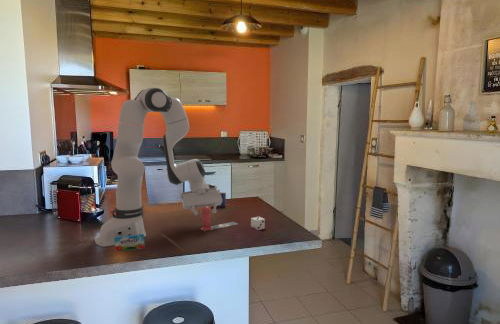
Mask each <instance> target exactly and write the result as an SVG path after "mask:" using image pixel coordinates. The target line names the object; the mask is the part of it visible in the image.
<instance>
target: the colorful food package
mask: <svg viewBox="0 0 500 324" xmlns="http://www.w3.org/2000/svg"><path fill="white" fill-rule="evenodd" d="M114 243H115V245H114V252H115V253H117V252H127V251H136V250H144V249H145V246H146V243H145V237H144V234H138V235H128V236H118V237H115V238H114Z"/></svg>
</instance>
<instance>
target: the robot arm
mask: <svg viewBox="0 0 500 324" xmlns="http://www.w3.org/2000/svg"><path fill="white" fill-rule="evenodd" d="M120 108H121V109H120V114H119V118H118V125H117V126H118V127H117V135H116V143H115V147H114V151H113V155H112V158H111V162H110V165H111V169H112V172H114V173H115V174H116V175H117V185H116V190H115V202H116V204H115V205H116V207H115V208H114V209H113V208H110V209H109V213H110V214H111V215H112V216H111V218H109V219H108V220H107V221H106V222H105V223H103V225H101V226H100V231H99V235H96V236H95V237H94V243H95V244H96V245H97V246H99V247H103V248H105V247H112V246H115V243H114V238H115V237H118V236H128V235H138V234H144V238H145V237H147V233H146V230H145V226H144V225H145V224H144V220H143V218H144V209H143V205H142V185H143V179H144V178H143V177H144V174H145V171H146V168H145V165H144V162H143V161H142V159H140V158H139V157H138V155H139V152H140V149H141V146H142V144H143V140H144V132H145V119H146V116H147V114H148V113H159V114H161V116H162V118H163V120H164V123H165V127H166V128H165V129H166V131H165V133H164V135H163V137H162V140H163V141H162V143H163V150H164V157H165V162H166V176H167V179H168V181H169V183H170V184H173V185H174V186H175V185H176V186H178V185H180V184H182V183H185V182H188V183H189V190H190V191H183V192H182V193H180V195H179V197H180V199H181V201H182V208H183V209H184V210H190V211H191V213H193V214H194V216H195V217H196V216H198V215H199V212H198V210H196V209H199V208H204V207H205V206H207V207H209V208H210V207H211V206H213V208H212V211H211V212H212V214H216V213H217V207H216V206H218V205H221V203H222V197H221V195H220V193H219V192H220V191H218V190H219V189H218V187H217V186H216V185H215V184H209V183H207V182H206V181H205V175H206V170H205V167H204V164H203V161H201V160H200V159H198V158H192V159H189V160H186V161H184V162H180V163H175V157H174V151H173V149H174V146H175V145H176V144H177V143H178V142H179V141H181V140H182V139H183V138H184V137H186V136H187V134H188V133H189V131H190V127H191V126H190V123H189V118H188V115H187V112H186V110H185V108H184V106H183V104H182V101H181V100H180V99H179V98H177V97H171V96H169V95H168V93H167V92H166V91H165V90H164V89H162V88H159V87H149V88H145V89H143V90H140V91H139V93H138V94H137V96H135V98H134V99H128V100H125V101H124V102H123V103H122V105H121V107H120Z"/></svg>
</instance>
